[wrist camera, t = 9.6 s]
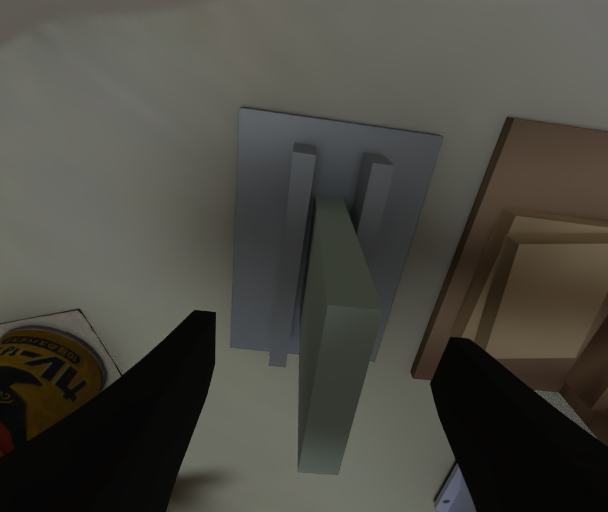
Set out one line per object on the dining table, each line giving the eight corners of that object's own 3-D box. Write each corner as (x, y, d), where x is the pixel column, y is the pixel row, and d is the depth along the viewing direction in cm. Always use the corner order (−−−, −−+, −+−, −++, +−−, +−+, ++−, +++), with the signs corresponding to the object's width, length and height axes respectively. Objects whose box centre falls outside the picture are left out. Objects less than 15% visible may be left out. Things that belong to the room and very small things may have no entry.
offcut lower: (539, 342, 18) (551, 355, 17) (449, 332, 18) (457, 346, 17) (610, 221, 15) (629, 230, 14) (502, 207, 14) (515, 216, 14)
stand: (372, 355, 19) (382, 391, 17) (231, 341, 18) (222, 376, 16) (438, 135, 14) (465, 144, 11) (241, 106, 13) (229, 111, 11)
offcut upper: (560, 343, 17) (575, 357, 16) (473, 344, 17) (482, 358, 16) (610, 233, 14) (631, 243, 13) (505, 234, 14) (519, 244, 13)
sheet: (323, 311, 17) (338, 474, 10) (299, 308, 17) (297, 472, 10) (342, 197, 14) (383, 309, 7) (315, 194, 14) (327, 304, 7)
